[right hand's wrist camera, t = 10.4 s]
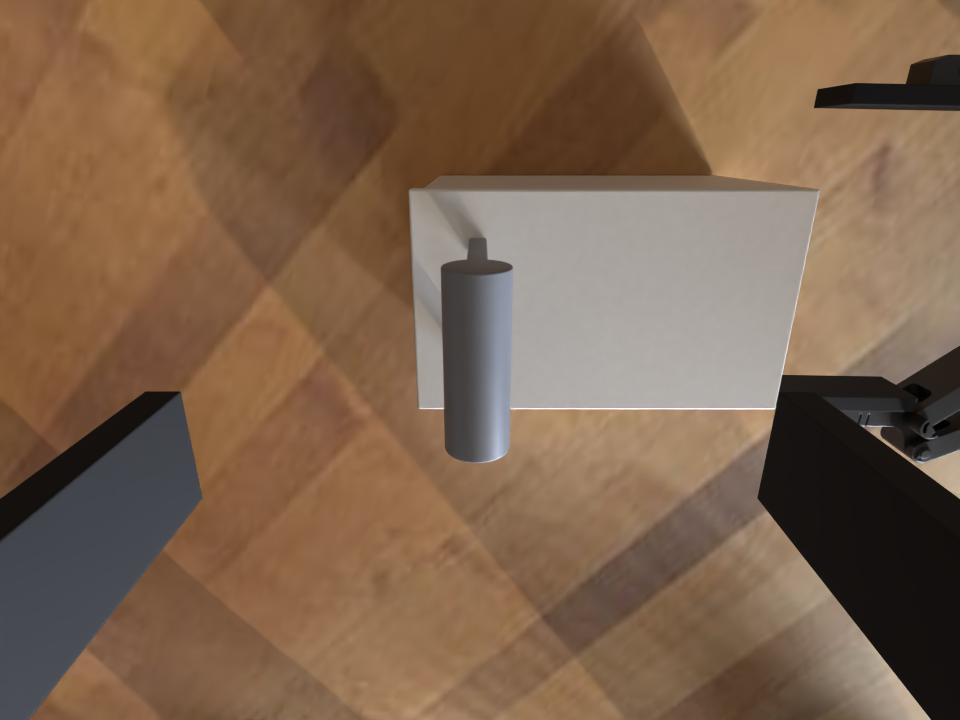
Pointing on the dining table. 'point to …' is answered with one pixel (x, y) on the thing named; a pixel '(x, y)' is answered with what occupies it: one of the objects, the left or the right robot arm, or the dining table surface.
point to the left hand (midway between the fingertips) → (797, 257)
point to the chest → (595, 182)
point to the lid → (600, 301)
